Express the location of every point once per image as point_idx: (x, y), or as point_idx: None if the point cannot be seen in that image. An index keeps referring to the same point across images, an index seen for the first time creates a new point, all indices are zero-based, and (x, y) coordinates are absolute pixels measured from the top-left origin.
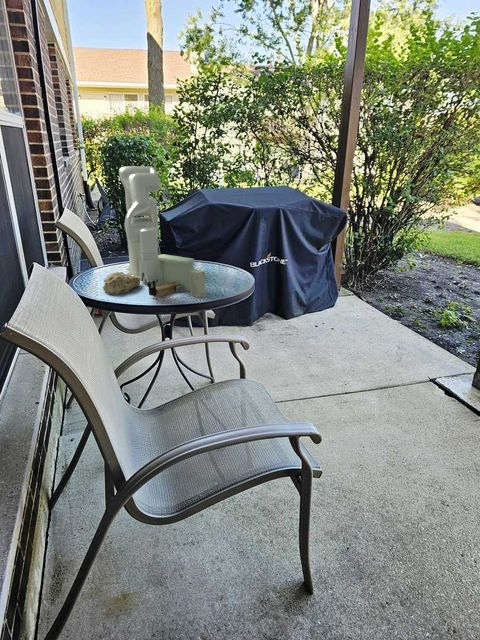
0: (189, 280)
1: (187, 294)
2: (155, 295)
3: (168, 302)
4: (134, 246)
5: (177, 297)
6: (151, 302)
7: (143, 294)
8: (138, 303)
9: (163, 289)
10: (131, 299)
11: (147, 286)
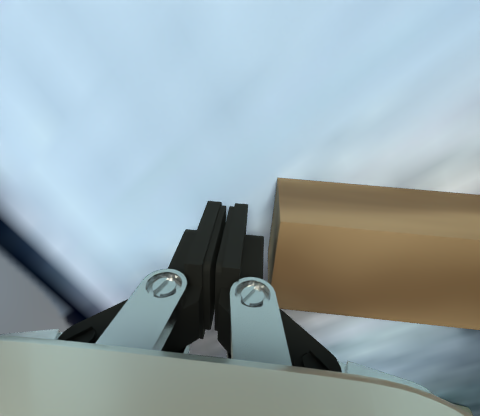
0: None
1: (435, 371)
2: (272, 224)
3: (207, 349)
4: None
5: (336, 350)
6: (132, 268)
7: (288, 22)
8: (36, 199)
9: (354, 308)
10: (44, 38)
11: (147, 278)
